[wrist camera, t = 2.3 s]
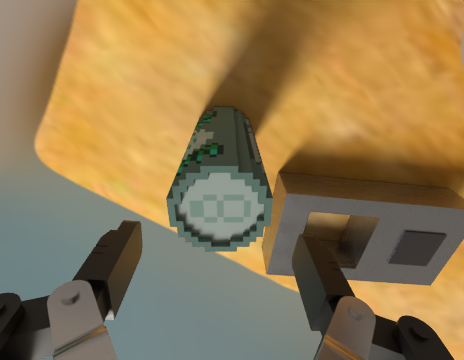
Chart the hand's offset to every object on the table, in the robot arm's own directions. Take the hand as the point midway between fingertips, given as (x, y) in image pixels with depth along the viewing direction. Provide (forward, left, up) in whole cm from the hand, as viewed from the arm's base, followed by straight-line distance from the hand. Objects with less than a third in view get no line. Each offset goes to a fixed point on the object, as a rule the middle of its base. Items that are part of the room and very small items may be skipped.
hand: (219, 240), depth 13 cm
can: (0, 0, -18) cm, 18 cm away
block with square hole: (+10, +18, -17) cm, 27 cm away
